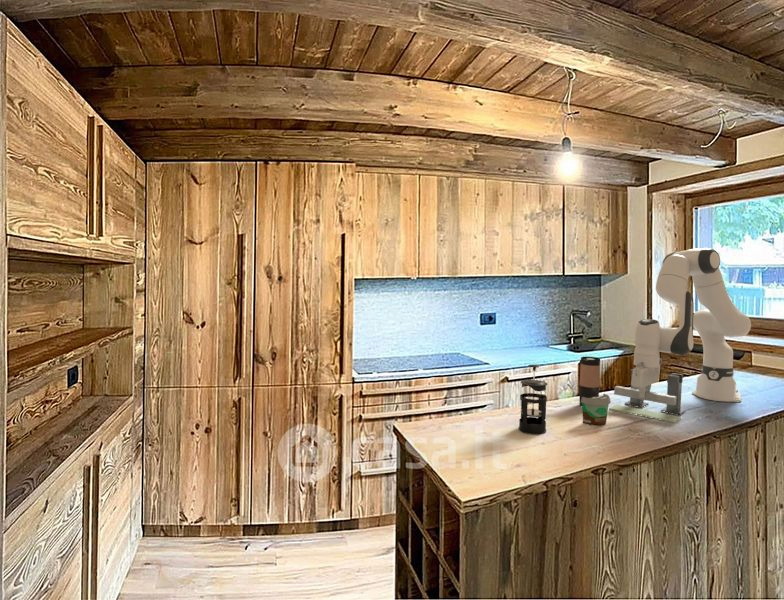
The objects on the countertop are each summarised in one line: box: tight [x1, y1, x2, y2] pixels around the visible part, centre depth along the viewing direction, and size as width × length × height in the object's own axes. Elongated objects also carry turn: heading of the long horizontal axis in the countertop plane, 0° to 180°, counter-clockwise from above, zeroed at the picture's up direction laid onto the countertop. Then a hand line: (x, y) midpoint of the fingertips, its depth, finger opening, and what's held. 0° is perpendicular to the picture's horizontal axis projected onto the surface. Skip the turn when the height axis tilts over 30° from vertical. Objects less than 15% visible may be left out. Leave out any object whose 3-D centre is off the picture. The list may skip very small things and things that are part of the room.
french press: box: [518, 364, 548, 435], centre depth 180 cm, size 12×9×23 cm
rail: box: [613, 385, 677, 405], centre depth 202 cm, size 3×22×3 cm, turn 45°
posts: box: [624, 368, 687, 416], centre depth 210 cm, size 7×21×15 cm, turn 45°
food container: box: [581, 393, 612, 427], centre depth 188 cm, size 12×6×10 cm, turn 117°
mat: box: [608, 404, 682, 424], centre depth 202 cm, size 8×24×1 cm, turn 45°
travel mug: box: [578, 356, 601, 407], centre depth 212 cm, size 8×8×20 cm
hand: (644, 396), depth 202 cm, fingers closed on rail, 3 cm apart
